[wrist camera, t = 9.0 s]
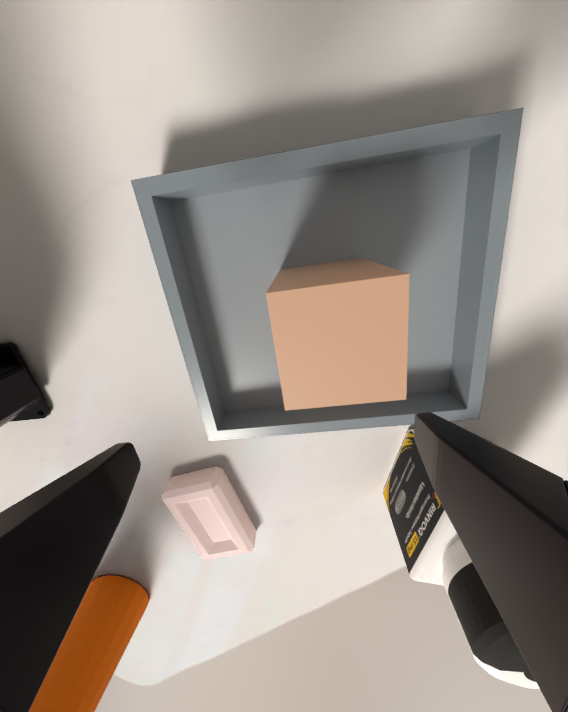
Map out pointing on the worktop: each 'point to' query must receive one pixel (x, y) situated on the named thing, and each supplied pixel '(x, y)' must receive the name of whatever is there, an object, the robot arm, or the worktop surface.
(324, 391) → the carton
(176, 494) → the soap bar
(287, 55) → the worktop surface
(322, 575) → the worktop surface
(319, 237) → the tray
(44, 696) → the spray bottle
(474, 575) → the medicine bottle
